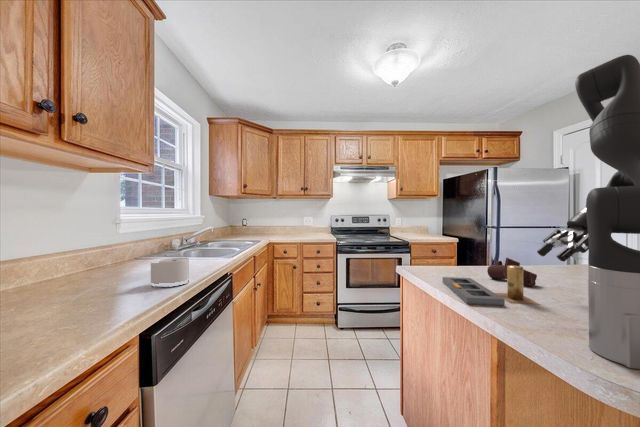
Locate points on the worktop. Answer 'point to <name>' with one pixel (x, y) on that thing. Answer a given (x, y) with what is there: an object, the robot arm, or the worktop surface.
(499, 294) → the tan rectangular plate
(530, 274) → the bracket
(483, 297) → the grey flat frame
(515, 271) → the gold domed cylinder
